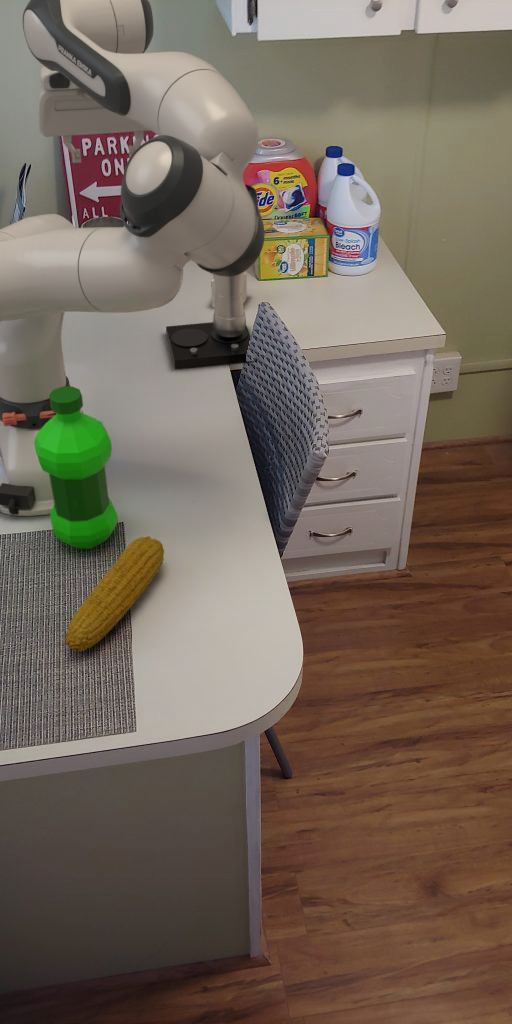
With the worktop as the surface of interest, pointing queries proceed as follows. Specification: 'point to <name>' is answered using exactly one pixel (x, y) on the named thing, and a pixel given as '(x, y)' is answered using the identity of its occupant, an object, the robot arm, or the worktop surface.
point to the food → (115, 593)
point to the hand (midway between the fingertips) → (105, 159)
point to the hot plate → (205, 346)
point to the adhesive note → (243, 290)
